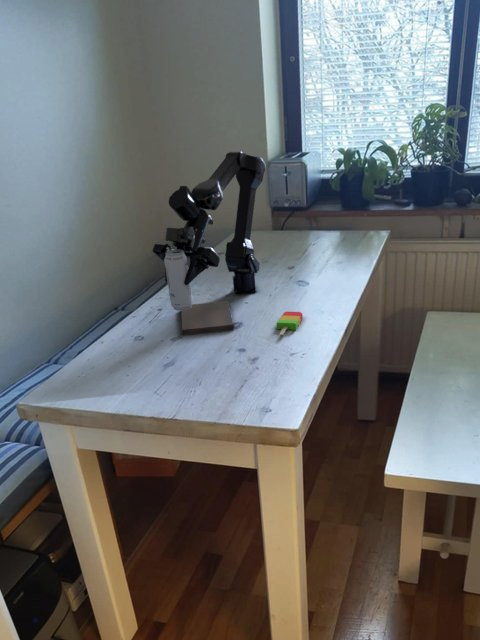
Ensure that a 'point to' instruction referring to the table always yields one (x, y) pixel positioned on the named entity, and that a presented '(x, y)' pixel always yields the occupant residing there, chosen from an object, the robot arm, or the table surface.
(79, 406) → the table surface
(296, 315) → the popsicle
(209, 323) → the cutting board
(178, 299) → the energy drink can
